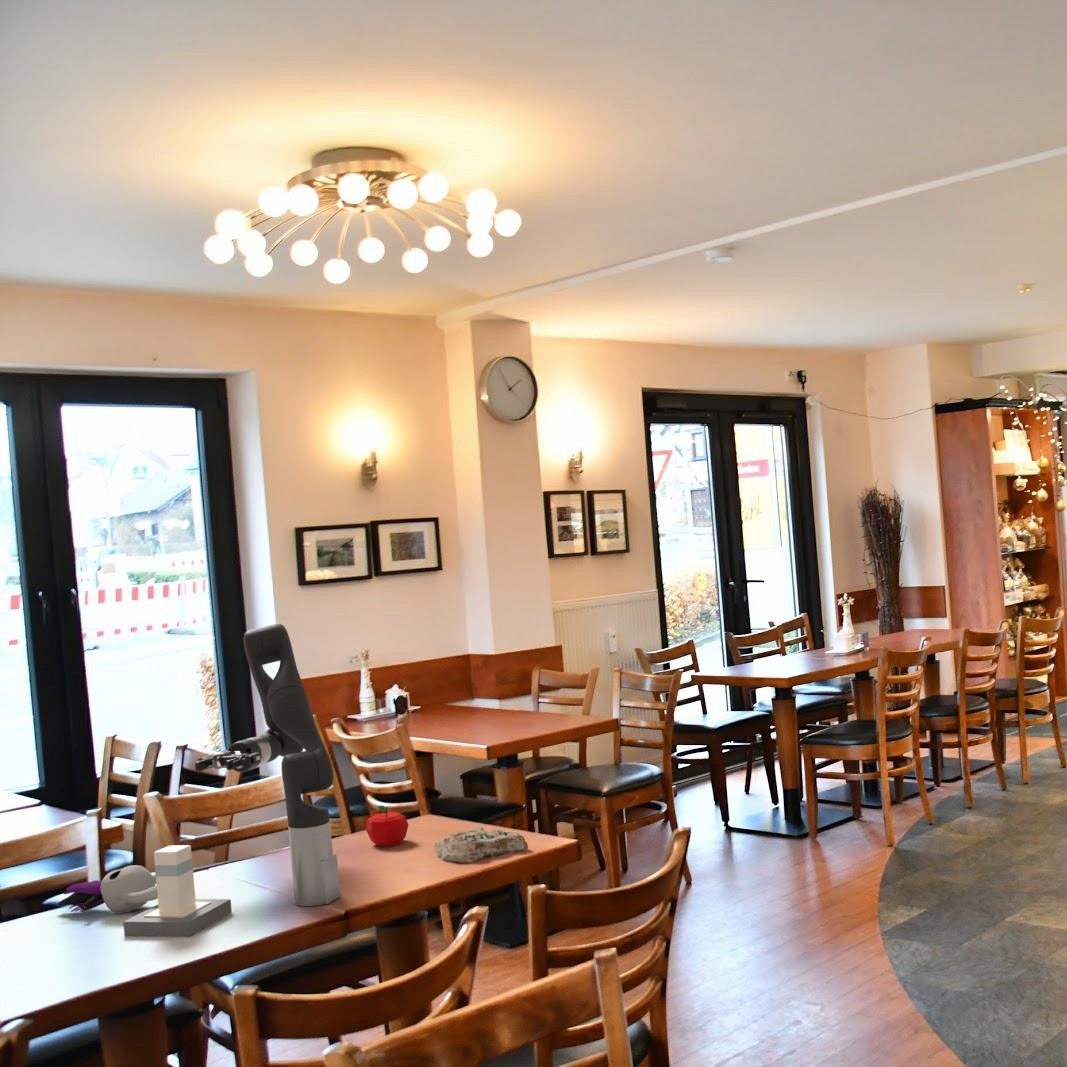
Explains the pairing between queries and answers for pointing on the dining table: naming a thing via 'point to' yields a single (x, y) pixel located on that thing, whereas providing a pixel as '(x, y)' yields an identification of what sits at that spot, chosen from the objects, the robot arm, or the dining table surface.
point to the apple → (387, 828)
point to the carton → (174, 878)
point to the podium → (178, 919)
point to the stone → (478, 845)
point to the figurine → (114, 891)
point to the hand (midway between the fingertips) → (212, 766)
